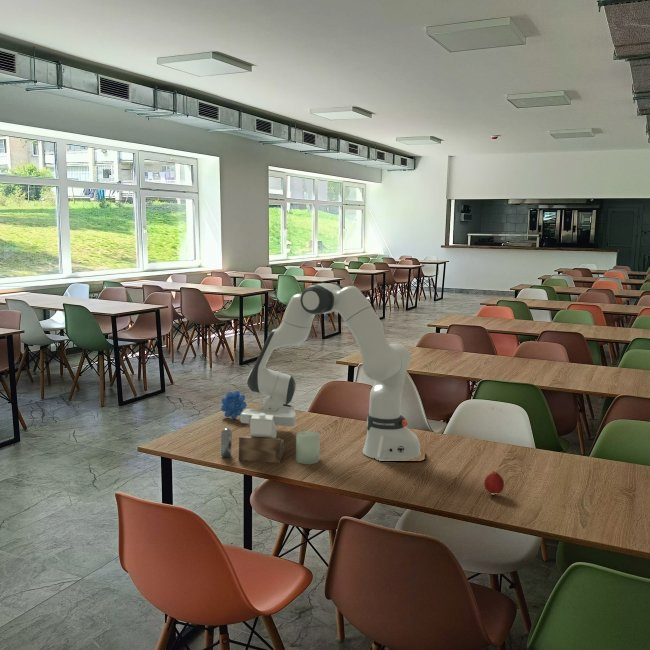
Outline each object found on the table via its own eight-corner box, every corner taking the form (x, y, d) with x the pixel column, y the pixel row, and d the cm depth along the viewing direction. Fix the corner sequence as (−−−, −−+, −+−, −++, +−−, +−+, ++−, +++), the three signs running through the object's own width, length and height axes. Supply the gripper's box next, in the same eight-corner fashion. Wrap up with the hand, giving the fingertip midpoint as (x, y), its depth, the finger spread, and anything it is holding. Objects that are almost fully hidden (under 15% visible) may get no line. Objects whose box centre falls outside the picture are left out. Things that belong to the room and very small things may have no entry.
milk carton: (274, 451, 228) (270, 429, 212) (254, 450, 228) (248, 428, 212) (276, 432, 232) (272, 409, 216) (257, 431, 232) (251, 408, 216)
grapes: (250, 418, 266) (251, 389, 264) (243, 422, 260) (243, 393, 258) (226, 414, 270) (226, 386, 268) (218, 418, 264) (218, 389, 262)
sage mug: (313, 452, 228) (314, 428, 227) (321, 463, 218) (322, 437, 217) (291, 454, 226) (292, 429, 224) (298, 464, 216) (299, 439, 214)
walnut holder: (283, 453, 226) (283, 431, 225) (279, 462, 217) (280, 439, 216) (243, 450, 227) (244, 429, 226) (238, 460, 218) (239, 437, 217)
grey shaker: (232, 454, 223) (232, 427, 222) (230, 458, 219) (230, 430, 218) (222, 453, 223) (222, 426, 222) (219, 457, 220) (220, 429, 218)
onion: (488, 490, 201) (490, 465, 200) (506, 495, 197) (508, 470, 196) (480, 495, 196) (482, 470, 195) (497, 501, 193) (500, 475, 191)
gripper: (244, 402, 241) (236, 413, 228) (298, 406, 240) (293, 417, 226) (243, 419, 242) (236, 431, 229) (297, 422, 241) (293, 434, 227)
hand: (265, 424), depth 227 cm, fingers closed, pressing on milk carton
